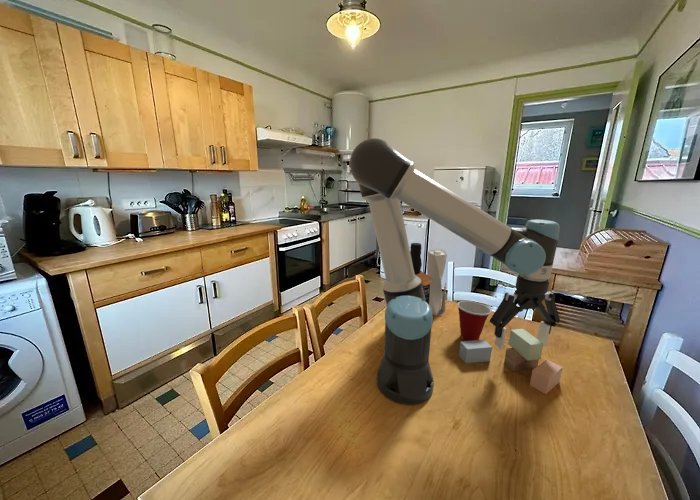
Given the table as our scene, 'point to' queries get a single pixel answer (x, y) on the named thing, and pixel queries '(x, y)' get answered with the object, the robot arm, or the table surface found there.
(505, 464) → the table surface
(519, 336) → the sage block
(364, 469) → the table surface
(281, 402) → the table surface
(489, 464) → the table surface
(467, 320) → the plastic cup
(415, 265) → the whiskey bottle
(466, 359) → the slate block
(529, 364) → the walnut block
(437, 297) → the skyscraper
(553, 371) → the terracotta block
